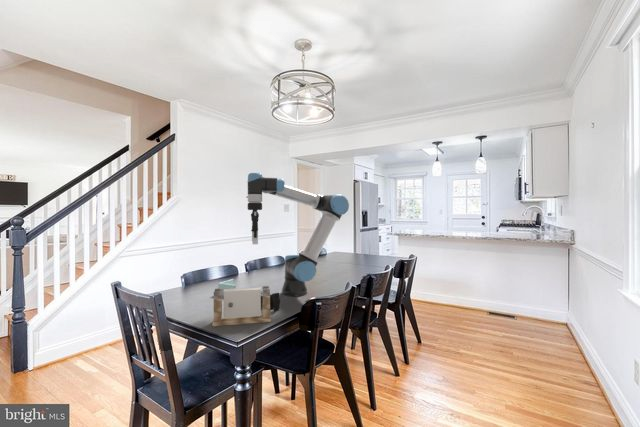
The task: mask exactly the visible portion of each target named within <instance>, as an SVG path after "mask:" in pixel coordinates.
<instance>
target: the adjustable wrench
mask: <svg viewBox="0 0 640 427" xmlns="http://www.w3.org/2000/svg"><path fill="white" fill-rule="evenodd" d="M280 295H281V294H280V292H275V293H271V294H270V311H271V310H273V311H274V312H276V311H280V306H281V297H280ZM262 302H263V295H261V305H262Z"/></svg>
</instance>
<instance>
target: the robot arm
mask: <svg viewBox="0 0 640 427" xmlns="http://www.w3.org/2000/svg"><path fill="white" fill-rule="evenodd" d="M263 193H264V194H269V195H272V196H273V195H274V196H276V197H279V198H282V199H286V200H289V201H292V202H295V203H299V204H303V205H305V206H309V207H312V209H313V210H316V211H319V212H321V217H320V220H319V222H318V223H317V225H316V227H315V229H314V231H313V233H312V235H311V237H310V238H309V241H308V243H307V245H306V246H305V248H304V250H303V251H301V252H300V253H299V254H288V255H287V254H286V255H285V256H284V282H283V285H282V288H281V294H282V295H283V296H287V297H301V296H304V295H306V294H307V293H308V288H307V285H306V283H307V282H310V281H311V280H313V279H314V278H315V276H316V275H317V274H316V273H317V265H318V264H319V261H318V257H319V255H320V253H321V251H322V249H323V247H324V246H325V244H326V242H327V240H328V238H329V236H330V234H331V232H332V231H333V230H332V229H333V228H334V226H335V224H336V222H339V221H340V220H341V218H342V216H343V215H346V214H347V212H348V211H349V208H350V203H349V200H348V199H347V197H346V196H345V195H343V194H338V193H337V194H331V195H330V194H329V195H324V194H319V193H317V194H313V193H310V192H307V191H304V190H302V189H298V188H296V187H295V188H294V187H293V186H289V185H286V184H285V180H284V179H283V178H280V177H264V176H263V173H261V172H250V173H248V174H247V196H246V198H247V202H248V203H247V210H248V211H252V212H251V213H250V217H251V218H250V219H251V222H252V223H251V230H250V232H251V242H252V245H258V244H259V217H260V213H259V212H258V211H262V210H263V203H262V202H263Z"/></svg>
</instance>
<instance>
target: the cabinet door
mask: <svg viewBox="0 0 640 427" xmlns="http://www.w3.org/2000/svg"><path fill="white" fill-rule="evenodd" d="M261 296H263V290H262V288H261V286H260V287H244V288H243V287H242V288H235V289H224V293H221V297H222V298H223V314H222V317H223V319H227V318H240V317H253V316H261V315H262V312H261V311H262V307H261V305H262V304H261Z"/></svg>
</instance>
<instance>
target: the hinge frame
mask: <svg viewBox="0 0 640 427" xmlns="http://www.w3.org/2000/svg"><path fill="white" fill-rule="evenodd" d="M262 291H263V294H262V296H263V302H262V304H261V305H262V307H261V311H262V312H261V316H253V317H240V318H227V319H223V297H221V293H222V288H219V289H218V288H215V289H214V291H213V320H212V326H211V327H220V326H222V327H223V326H232V325H245V324H246V325H247V324H248V325H249V324H257V323H258V324H259V323H270V322H272V316H271V309H270V295H271V288H270V286H269V285H263V286H262Z"/></svg>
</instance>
